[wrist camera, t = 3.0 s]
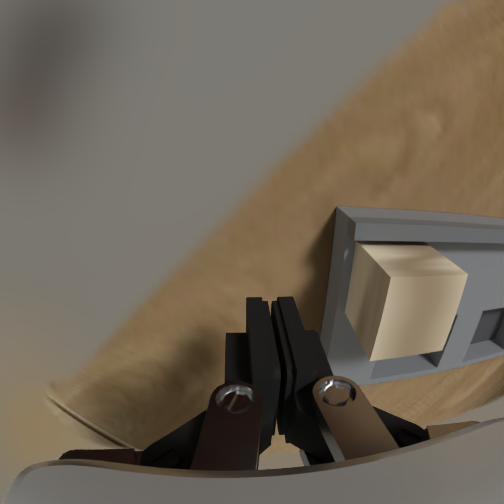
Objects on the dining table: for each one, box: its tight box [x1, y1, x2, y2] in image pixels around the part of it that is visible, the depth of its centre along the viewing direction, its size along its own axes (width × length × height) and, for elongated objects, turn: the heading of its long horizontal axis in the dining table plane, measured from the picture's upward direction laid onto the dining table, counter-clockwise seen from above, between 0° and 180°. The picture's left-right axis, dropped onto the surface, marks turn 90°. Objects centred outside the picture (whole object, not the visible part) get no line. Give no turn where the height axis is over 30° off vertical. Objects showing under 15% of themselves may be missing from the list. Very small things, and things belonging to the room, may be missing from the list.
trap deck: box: [320, 206, 504, 386], centre depth 17 cm, size 26×11×3 cm, turn 89°
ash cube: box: [345, 241, 468, 361], centre depth 13 cm, size 4×4×4 cm
